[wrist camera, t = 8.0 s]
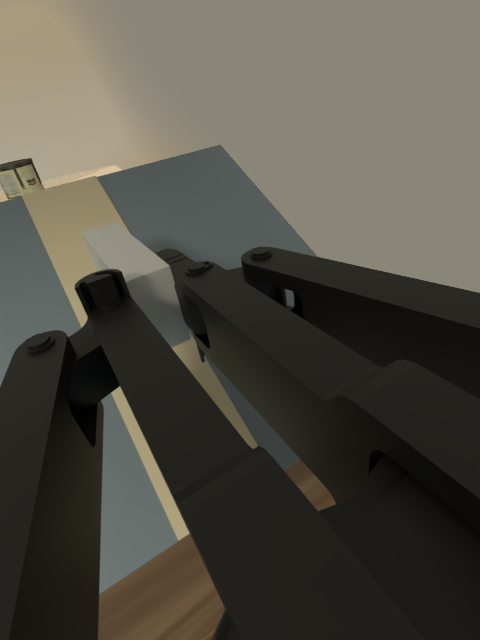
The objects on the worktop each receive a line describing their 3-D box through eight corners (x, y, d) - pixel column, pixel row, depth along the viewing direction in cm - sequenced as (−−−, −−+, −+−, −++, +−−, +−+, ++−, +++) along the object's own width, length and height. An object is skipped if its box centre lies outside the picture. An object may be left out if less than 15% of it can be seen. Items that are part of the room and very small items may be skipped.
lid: (408, 386, 18) (423, 376, 17) (-82, 716, 10) (-114, 737, 9) (219, 161, 25) (220, 143, 24) (-149, 263, 18) (-172, 245, 16)
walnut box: (393, 494, 22) (405, 388, 18) (60, 764, 15) (-74, 711, 10) (243, 355, 36) (226, 274, 31) (30, 463, 29) (-34, 380, 24)
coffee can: (28, 210, 112) (4, 162, 105) (59, 205, 111) (38, 156, 104) (9, 221, 104) (-17, 169, 96) (43, 216, 103) (19, 163, 95)
